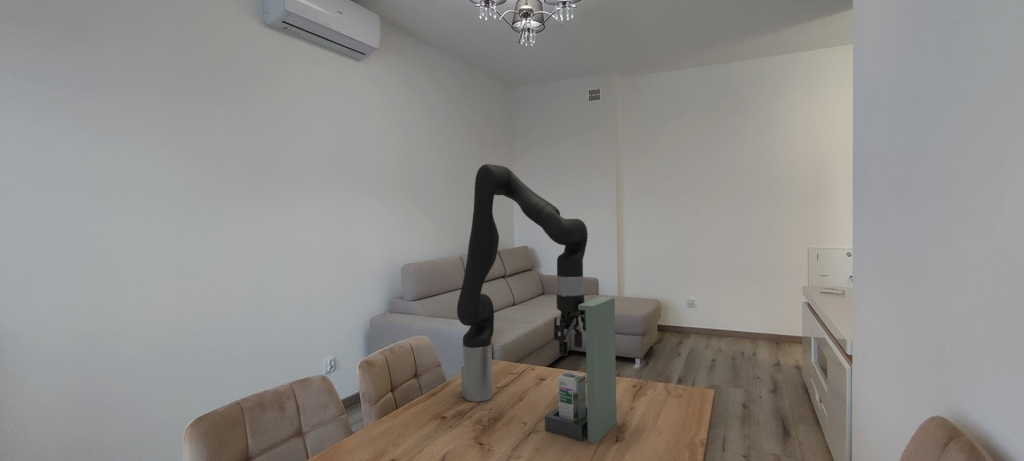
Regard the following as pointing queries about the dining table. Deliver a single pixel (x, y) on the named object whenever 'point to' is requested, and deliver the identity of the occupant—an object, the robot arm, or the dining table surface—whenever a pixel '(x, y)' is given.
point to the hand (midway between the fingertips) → (571, 351)
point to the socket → (566, 426)
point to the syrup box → (572, 396)
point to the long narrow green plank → (600, 366)
